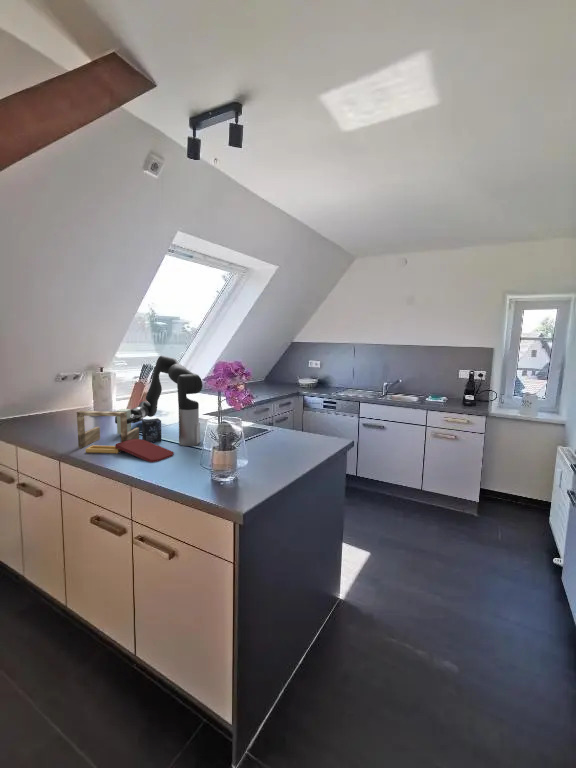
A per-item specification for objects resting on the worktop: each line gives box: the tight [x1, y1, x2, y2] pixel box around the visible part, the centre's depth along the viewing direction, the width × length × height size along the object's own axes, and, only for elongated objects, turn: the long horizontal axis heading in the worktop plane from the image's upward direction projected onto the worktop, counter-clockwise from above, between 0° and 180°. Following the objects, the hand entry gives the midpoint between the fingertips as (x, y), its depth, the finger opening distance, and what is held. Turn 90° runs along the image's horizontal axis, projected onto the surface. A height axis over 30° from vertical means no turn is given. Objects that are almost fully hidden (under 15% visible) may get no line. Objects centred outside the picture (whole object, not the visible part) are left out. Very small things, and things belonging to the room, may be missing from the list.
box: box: [141, 418, 162, 443], centre depth 180 cm, size 8×6×11 cm
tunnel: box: [76, 410, 140, 449], centre depth 174 cm, size 21×16×16 cm
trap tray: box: [85, 444, 121, 455], centre depth 163 cm, size 14×6×2 cm, turn 89°
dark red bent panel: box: [114, 438, 175, 463], centre depth 161 cm, size 12×5×26 cm
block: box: [115, 408, 132, 435], centre depth 189 cm, size 5×5×12 cm
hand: (121, 421), depth 186 cm, fingers closed on block, 5 cm apart
